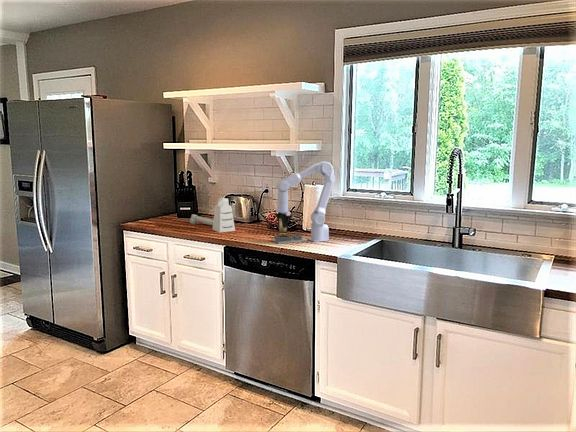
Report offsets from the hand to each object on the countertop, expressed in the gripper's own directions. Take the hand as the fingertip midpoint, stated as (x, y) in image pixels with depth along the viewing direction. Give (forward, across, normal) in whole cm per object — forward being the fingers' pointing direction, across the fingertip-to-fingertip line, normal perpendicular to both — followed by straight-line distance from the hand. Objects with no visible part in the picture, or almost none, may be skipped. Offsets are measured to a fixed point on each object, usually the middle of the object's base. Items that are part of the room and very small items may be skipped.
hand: (282, 226), depth 264 cm
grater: (+9, -46, -20) cm, 51 cm away
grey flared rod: (+9, -70, -26) cm, 75 cm away
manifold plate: (+8, 0, +4) cm, 9 cm away
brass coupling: (+2, 0, 0) cm, 2 cm away
